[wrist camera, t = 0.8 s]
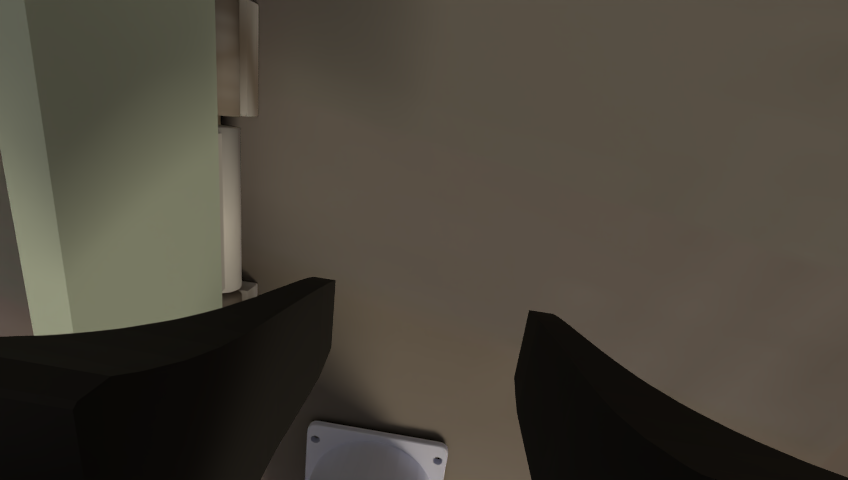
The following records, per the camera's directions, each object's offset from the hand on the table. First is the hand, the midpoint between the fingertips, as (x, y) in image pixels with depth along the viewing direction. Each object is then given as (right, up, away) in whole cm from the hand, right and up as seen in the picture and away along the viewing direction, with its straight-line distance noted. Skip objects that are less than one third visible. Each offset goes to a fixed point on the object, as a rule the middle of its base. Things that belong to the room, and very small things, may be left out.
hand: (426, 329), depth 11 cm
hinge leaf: (-10, +2, +4) cm, 11 cm away
